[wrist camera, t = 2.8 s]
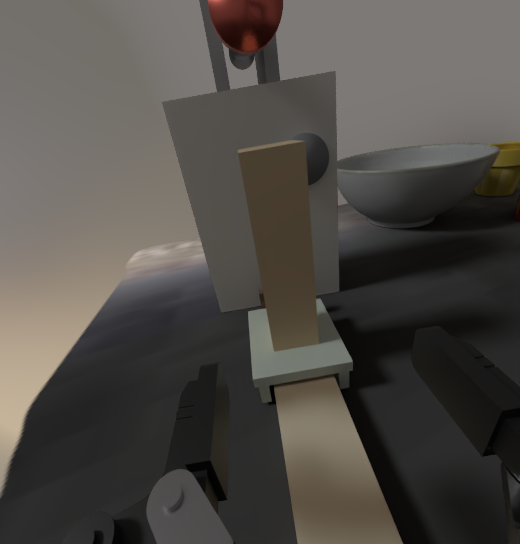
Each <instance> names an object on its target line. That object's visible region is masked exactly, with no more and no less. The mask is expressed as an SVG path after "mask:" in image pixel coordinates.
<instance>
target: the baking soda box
mask: <svg viewBox="0 0 520 544" xmlns="http://www.w3.org/2000/svg"><path fill="white" fill-rule="evenodd" d="M515 211H516V221H520V195H519V199H518V202H517V205H516V209H515Z"/></svg>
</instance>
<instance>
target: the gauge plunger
mask: <svg viewBox="0 0 520 544" xmlns="http://www.w3.org/2000/svg"><path fill="white" fill-rule="evenodd" d="M208 7H209V12H210V17H211V21H212V24H213V27H214V30H215V32H216V34H217V35H218V37H219V39H220V40H221V41H222V43H223V44H225V46H226V47H228V48H229V56H230V60H231V62H232V64H233V65H234V66H235V67H236V68H238V69H242V70H243V69H247V68H248V67H250V66H251V64H252V63H253V60H254V56H255V53H257V52H260V51H261V50H263V49H264V48H265V47H266V46H267V45H268V44H269V43H270V42H271V40H272V39H273V37H274V35H275V33H276V31H277V28H278V26H279V23H280V20H281V16H282V10H283V0H208Z"/></svg>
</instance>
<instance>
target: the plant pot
mask: <svg viewBox="0 0 520 544" xmlns="http://www.w3.org/2000/svg"><path fill="white" fill-rule="evenodd" d="M489 145H494V146H497V147H498V148H499V149H500V153H499V155H498V157H497V159H496V161H495V162H494V164H493V166H492V167H491V169H490V170H489V172H488V173H487V175H486V176H485V177H484V179H483V180H482V181H481V182H480V184H479V185H478V186H477V187H476V188H475V193H476V194H478V195H482V196H507V195H511V194H513V193H514V191H515V189H516V188H517V186H518V184H519V182H520V142H506V143H495V144H489Z"/></svg>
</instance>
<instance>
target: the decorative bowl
mask: <svg viewBox="0 0 520 544" xmlns="http://www.w3.org/2000/svg"><path fill="white" fill-rule="evenodd" d="M499 153H500V149H499V148H498V147H497V146H494V145H489V144H478V143H476V144H475V143H452V144H434V145H423V146H411V147H403V148H394V149H387V150H382V151H375V152H369V153H364V154H360V155H355V156H351V157H348V158H345V159H341V160H339V161H337V186H338V189H339V190H340V192H341V194H342V195H343V197H344V198H345V199H346V201H347V202H348V203H349V204H350V205H351V206H352V207H353V208H354V209H355V210H357V211H358V212H360V213H361V214H363V215H365V216H367V218H368V221H369V222H370V223H372V224H374V225H377V226H380V227H386V228H413V227H419V226H423V225H426V224H429V223H431V222H432V221H433V220H434V219H435V216H436V215H439V214H441V213H443V212H445V211H447V210H449V209H451V208H452V207H454V206H455V205H457V204H458V203H460V202H461V201H462V200H463V199H465V198H466V197H467V196H468V195H469V194H470V193H471V192H472V191H473V190H474V189H475V188H476V187H477V186H478V185H479V184H480V182H481V181H482V180H483V179H484V177H485V176H486V175H487V173H488V172H489V170H490V169H491V167H492V166H493V164H494V162H495V161H496V159H497V157H498V155H499Z"/></svg>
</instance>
